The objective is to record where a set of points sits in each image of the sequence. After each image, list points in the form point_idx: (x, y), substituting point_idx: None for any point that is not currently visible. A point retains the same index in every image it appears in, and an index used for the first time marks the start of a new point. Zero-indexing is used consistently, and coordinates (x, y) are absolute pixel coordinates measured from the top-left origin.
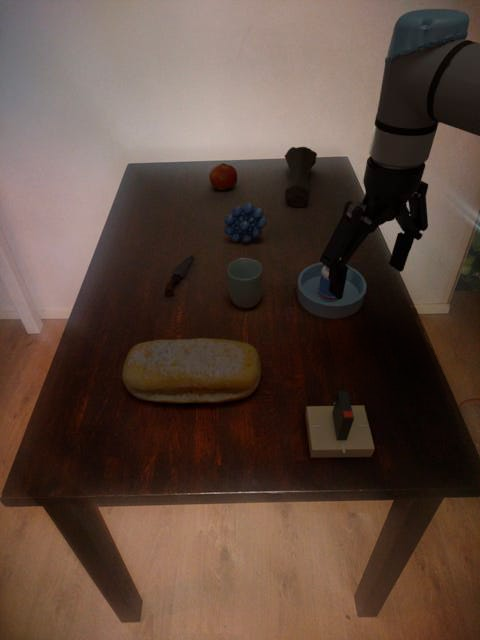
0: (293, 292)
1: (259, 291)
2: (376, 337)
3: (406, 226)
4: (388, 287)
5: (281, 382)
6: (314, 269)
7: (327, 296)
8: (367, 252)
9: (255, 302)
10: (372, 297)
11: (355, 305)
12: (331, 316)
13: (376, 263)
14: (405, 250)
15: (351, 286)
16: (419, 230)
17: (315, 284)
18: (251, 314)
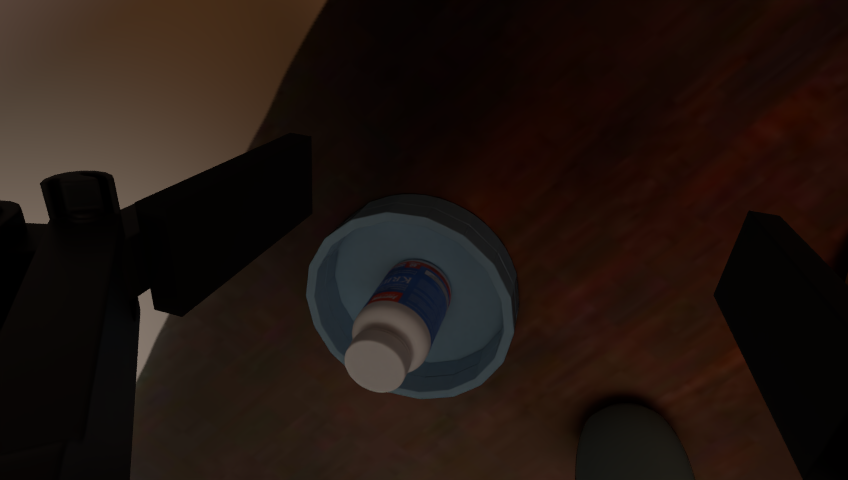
0: None
1: (625, 439)
2: (437, 82)
3: (106, 325)
4: None
5: (840, 150)
6: None
7: (443, 287)
8: (218, 316)
9: (639, 413)
10: (326, 200)
11: (409, 207)
12: (485, 229)
13: None
14: (226, 189)
15: (345, 267)
16: (38, 229)
17: None
18: (657, 388)
